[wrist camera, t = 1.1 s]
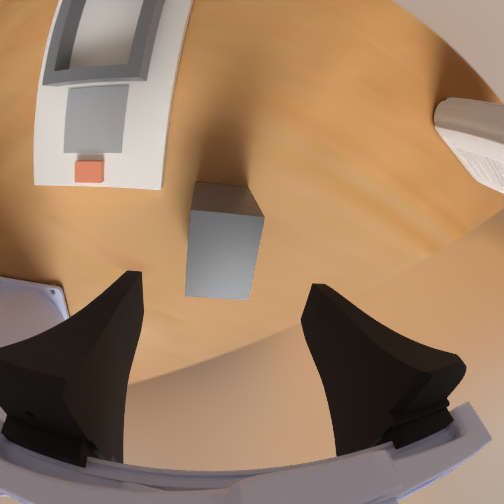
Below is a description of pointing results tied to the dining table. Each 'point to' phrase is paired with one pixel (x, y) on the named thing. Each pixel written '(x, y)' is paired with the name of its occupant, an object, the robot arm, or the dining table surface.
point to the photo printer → (474, 137)
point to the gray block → (222, 241)
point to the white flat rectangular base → (108, 92)
